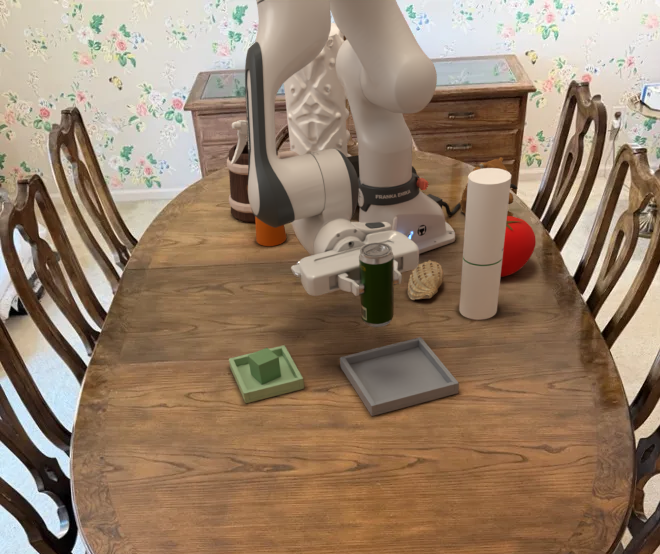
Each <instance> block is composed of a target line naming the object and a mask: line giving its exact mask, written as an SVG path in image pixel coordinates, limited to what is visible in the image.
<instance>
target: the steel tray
mask: <svg viewBox="0 0 660 554" xmlns="http://www.w3.org/2000/svg"><path fill="white" fill-rule="evenodd" d="M339 364H340V369H341V370H342V373H344V375H345V376H346V378H347V380H348V381H349V383H350V384H351V386H352V387H353V389H354V391H355V392H356V394H357V395H358V397H359V398H360V400H361V402H362V403H363V405H364V406H365V409H367V411H368V413H369V414H370V416H371V417H374V416H378V415H381V414H385V413H389V412H393V411H396V410H400V409H404V408H408V407H411V406H415V405H419V404H422V403H427V402H430V401H431V402H432V401H435V400H437V399H441V398H446V397H449V396H452V395H457V394H459V387H460V385H459V384H460V382H459V381H458V380H457V378H456V377H455V376H454V375H453V374H452V372H450V370H449V369H448V368H447V366H446V365H445V364H444V363H443V362H442V361H441V360H440V358H439V357H438V355H436V353H435V352H434V351H433V350H432V349H431V348H430V346H429V345H428V343H426V341H425V340H424V339H423V338H422V336H419V337H415V338H411V339H408V340H404V341H400V342H396V343H392V344H388V345H383V346H380V347H376V348H372V349H367V350H363V351H359V352H356V353H355V352H354V353H351V354H347V355H343V356H340V357H339Z"/></svg>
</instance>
